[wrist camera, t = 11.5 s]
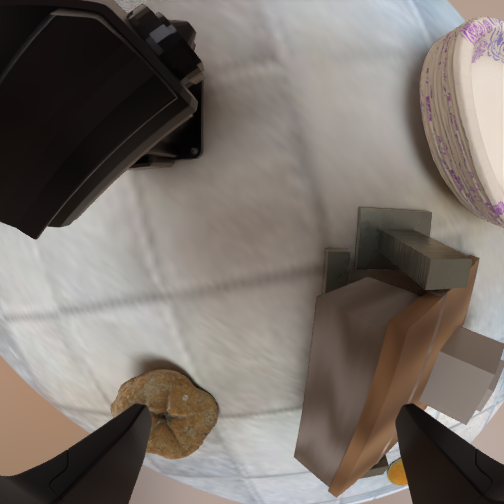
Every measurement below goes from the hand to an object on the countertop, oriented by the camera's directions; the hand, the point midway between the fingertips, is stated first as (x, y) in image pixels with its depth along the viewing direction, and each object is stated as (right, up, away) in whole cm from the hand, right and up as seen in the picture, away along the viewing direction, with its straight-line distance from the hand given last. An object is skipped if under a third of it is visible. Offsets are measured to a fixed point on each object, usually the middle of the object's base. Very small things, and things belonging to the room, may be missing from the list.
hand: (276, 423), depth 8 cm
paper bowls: (+18, +16, +8) cm, 25 cm away
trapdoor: (+9, -3, +12) cm, 16 cm away
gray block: (+14, -3, +10) cm, 18 cm away
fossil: (-8, -8, +17) cm, 20 cm away
